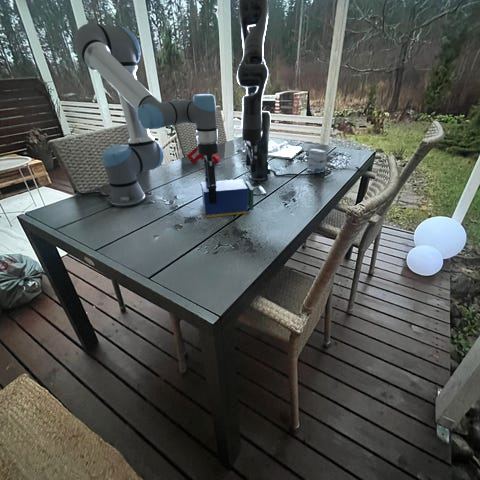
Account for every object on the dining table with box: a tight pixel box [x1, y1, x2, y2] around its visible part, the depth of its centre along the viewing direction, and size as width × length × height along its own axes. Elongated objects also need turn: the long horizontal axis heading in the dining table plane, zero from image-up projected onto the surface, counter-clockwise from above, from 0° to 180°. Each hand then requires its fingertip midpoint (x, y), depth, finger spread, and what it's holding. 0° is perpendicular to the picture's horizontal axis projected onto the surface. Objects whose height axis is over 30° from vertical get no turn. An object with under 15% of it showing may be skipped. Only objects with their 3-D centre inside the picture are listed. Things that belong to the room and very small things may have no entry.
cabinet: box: [200, 178, 249, 219], centre depth 113 cm, size 17×11×11 cm, turn 102°
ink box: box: [306, 148, 328, 173], centre depth 153 cm, size 8×5×12 cm, turn 47°
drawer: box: [244, 180, 267, 211], centre depth 114 cm, size 22×10×9 cm, turn 102°
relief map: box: [242, 138, 304, 160], centre depth 192 cm, size 27×35×5 cm
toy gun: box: [186, 145, 221, 166], centre depth 168 cm, size 18×4×15 cm
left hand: (211, 197), depth 111 cm, fingers closed on cabinet, 11 cm apart
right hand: (250, 168), depth 111 cm, fingers open, 8 cm apart
